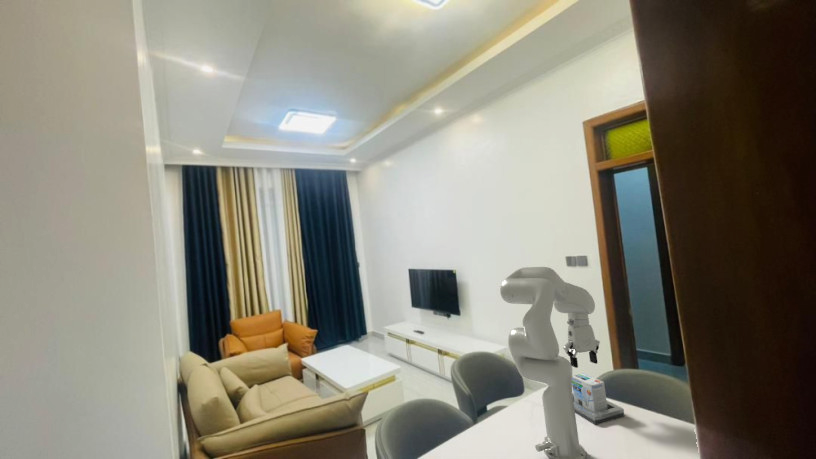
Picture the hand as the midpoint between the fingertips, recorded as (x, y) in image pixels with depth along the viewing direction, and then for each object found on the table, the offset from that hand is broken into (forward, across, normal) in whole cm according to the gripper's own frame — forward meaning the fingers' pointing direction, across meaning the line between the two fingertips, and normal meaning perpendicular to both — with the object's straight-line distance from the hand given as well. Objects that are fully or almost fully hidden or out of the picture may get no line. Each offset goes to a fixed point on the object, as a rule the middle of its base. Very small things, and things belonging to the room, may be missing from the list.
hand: (584, 364), depth 128 cm
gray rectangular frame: (+18, +1, 0) cm, 18 cm away
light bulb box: (+17, +1, 0) cm, 17 cm away
